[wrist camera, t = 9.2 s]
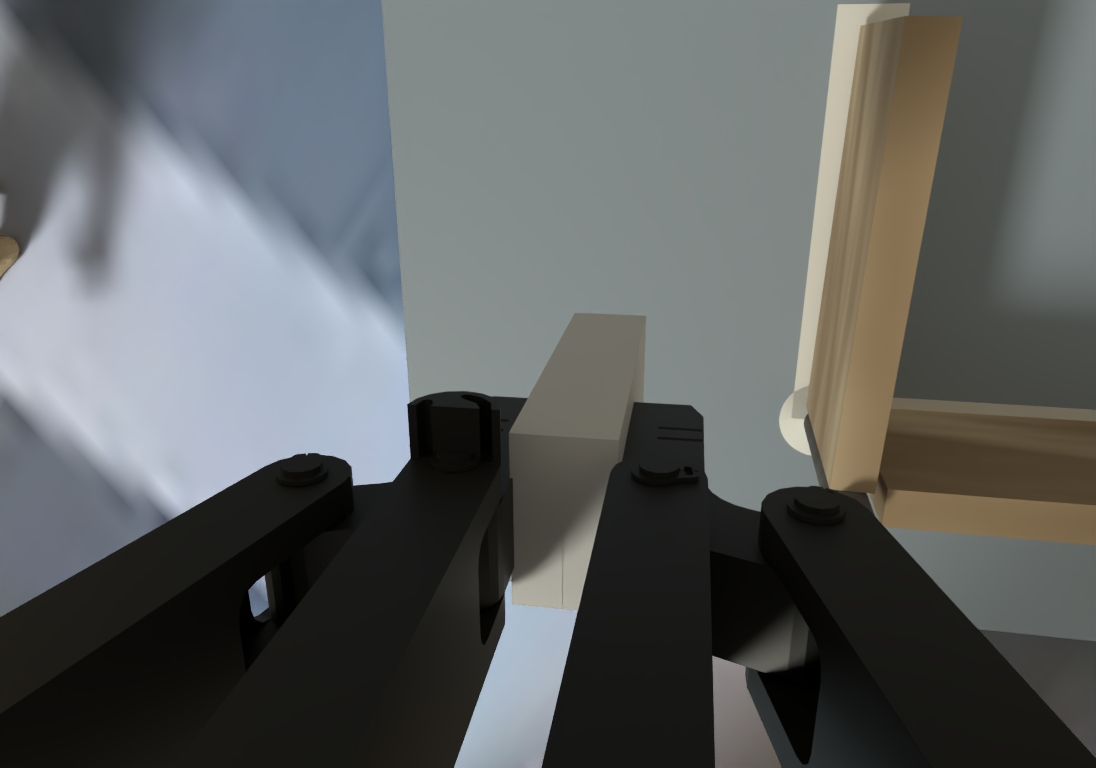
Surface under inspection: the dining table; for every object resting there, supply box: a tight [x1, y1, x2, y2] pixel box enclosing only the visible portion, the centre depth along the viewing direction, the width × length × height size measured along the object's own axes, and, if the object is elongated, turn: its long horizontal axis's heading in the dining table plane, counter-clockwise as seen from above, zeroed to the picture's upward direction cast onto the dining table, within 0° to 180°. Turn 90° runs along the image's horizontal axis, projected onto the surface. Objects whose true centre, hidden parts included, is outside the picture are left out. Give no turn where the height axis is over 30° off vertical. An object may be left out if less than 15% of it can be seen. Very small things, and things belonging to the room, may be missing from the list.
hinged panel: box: [804, 16, 963, 516], centre depth 23 cm, size 1×13×7 cm, turn 179°
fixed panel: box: [869, 409, 1096, 545], centre depth 25 cm, size 1×12×6 cm, turn 90°
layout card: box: [381, 0, 1096, 641], centre depth 28 cm, size 22×31×1 cm
